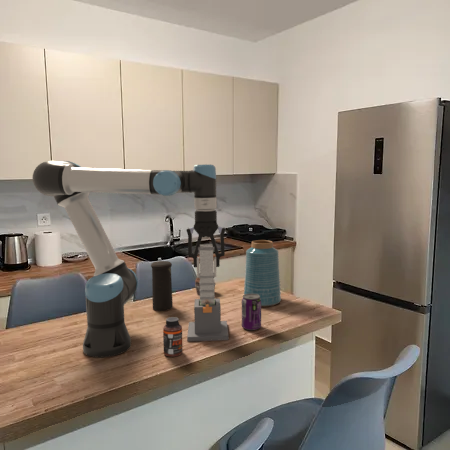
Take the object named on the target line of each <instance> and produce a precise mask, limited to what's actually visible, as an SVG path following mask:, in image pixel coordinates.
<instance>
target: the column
mask: <svg viewBox="0 0 450 450" xmlns="http://www.w3.org/2000/svg"><path fill="white" fill-rule="evenodd" d="M198 250H199V279H200V282H199V286H200V296H199V299H200V306H206V304H209V305H215V300H214V299H216V296H215V291H216V290H215V289H216V288H214V285H215V286H216V282H215V277H214V250H215V247H214V246H213V245H212V243H211V244H209V243H208V244H200V247H198ZM214 282H215V283H214Z"/></svg>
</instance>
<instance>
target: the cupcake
mask: <svg viewBox="0 0 450 450" xmlns="http://www.w3.org/2000/svg"><path fill="white" fill-rule="evenodd" d="M194 281H195V282H194V287H195V290H196V295H197V296H198V297H200V286H199V282H200V279H199V277H197V276H196V279H195V280H194ZM214 283H215V285H214V288H215V287H216V282H215V281H214ZM215 289H216V288H215Z"/></svg>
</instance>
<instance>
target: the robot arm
mask: <svg viewBox="0 0 450 450" xmlns="http://www.w3.org/2000/svg"><path fill="white" fill-rule="evenodd" d="M216 170H217V169H216V166H215V165H214V164H194V165H193V169H192V170H169V169H163V170H162V169H161V170H160V169H159V170H156V169H153V170H152V169H134V168H133V169H127V168H126V169H123V168H103V167H102V168H96V167H94V168H92V167H82V166H81V165H80V164H77V163H75V162H73V161H69V160H63V161H60V160H45V161H43V162H40V163H39V164H38V165H37V166H36V167H35V169H34V170H33V173H32V183H33V186H34V188H35V189H36V190H37V191H38V192H39V193H41V194H42V195H44V196H47V197H53V198H54V200H55V202H56V204H57V206H59V207H62V208H64V209H65V212H66V213H67V216H68V217H69V220H70V222H71V223H72V226H73V227H74V229H75V231H76V233H77V235H78V237H79V239H80V241H81V244H82V245H83V247H84V250H85V251H86V253H87V256H88V257H89V259H90V261H91V263H92V265H93V267H94V269H95V270H94V274H93V276H91V277H90V278H88V280H87V281H86V283H85V289H84V295H85V308H86V309H85V310H86V323H87V327H86V332H85V334H84V339H83V343H82V353H83V354H84V355H86V356H88V357H92V358H107V357H108V358H110V357H114V356H118V355H120V354H123V353H125V352H127V351H128V350H129V349H130V348H131V346H132V339H131V336H130V335H131V334H130V333H129V331H128V328H127V325H126V323H125V305H126V304H127V303H128V301H130V300H131V299H132V298H133V297H134V296H135V294H136V292H137V290H138V286H139V278H138V276H137V274H136V273H135V272H134V271H133V269H130V268H129V267H128V266H127V263H126V261H125V260H123V259H120V258H119V256H117V253H116V251H115V249H114V247H113V245H112V243H111V241H110V239H109V237H108V235H107V234H106V231H105V229H104V228H103V225H102V223H101V221H100V219H99V217H98V215H97V213H96V210H95V209H94V207H93V205H92V203H91V201H90V199H89V195H90V194H91V193H98V194H99V193H101V194H102V193H103V194H133V195H135V194H136V195H158V196H159V195H161V196H164V197H165V196H166V197H168V196H169V197H170V196H173V195H175V194H184V193H185V194H186V193H187V194H188V193H189V194H190V193H191V194H194V195H193V196H194V199H193V201H194V210H195V211H194V225H193V226H192V227H187V228H186V230H185V231H186V233H187V242H188V243H187V256H188V257H189V258H192V259H193V268H196V278H197V277H199V273H200V256H199V257H198V255H199V252H200V250H198V247H200V245H201V243H202V238H205V237H206V238H209V239H210V241H211V244H212V245H213V246H214V247H215V250H213V253H214V255H215V256H213V273H214V278H217V268H219V267H220V266H221V265H220V262H221V261H220V258H221V257H225V252H226V251H225V232H226V227H224V226H219V224H218V221H217V220H218V217H217V210H216V209H217V171H216ZM217 230H218V233H219V239H220V241H219V242H220V252H219V249H218V247H217V243H216V239H215V236H214V235H215V233H216V232H217ZM194 231H195V232H196V234H197V235H198V236H197V241H196V245H195V249H194V252H193V235H192V234H193V233H194Z"/></svg>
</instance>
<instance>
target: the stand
mask: <svg viewBox="0 0 450 450" xmlns="http://www.w3.org/2000/svg"><path fill="white" fill-rule="evenodd" d="M214 300H215V305H209V304H206V306H200V298H194V306H193V310H194V311H193V312H194V321H188V325H187V326H188V327H187V328H188V329H187V336H186V338H187V340H186V341H187V342H205V341H207V342H208V341H209V342H211V341H229V329H228V322H227V320H222V317H221V308H222V307H221V300H220V298H215V299H214Z"/></svg>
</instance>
